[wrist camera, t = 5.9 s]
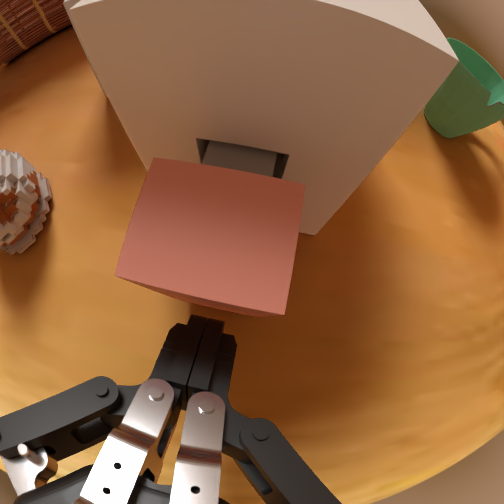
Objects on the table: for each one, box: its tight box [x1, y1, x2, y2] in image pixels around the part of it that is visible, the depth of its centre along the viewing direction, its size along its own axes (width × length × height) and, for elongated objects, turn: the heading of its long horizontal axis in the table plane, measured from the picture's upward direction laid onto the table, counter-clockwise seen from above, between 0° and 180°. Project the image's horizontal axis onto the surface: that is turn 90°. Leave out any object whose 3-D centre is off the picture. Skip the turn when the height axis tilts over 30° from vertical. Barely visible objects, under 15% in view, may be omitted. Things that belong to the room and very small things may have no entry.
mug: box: [424, 37, 504, 138], centre depth 19 cm, size 15×10×10 cm
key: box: [115, 140, 306, 317], centre depth 14 cm, size 5×14×10 cm, turn 169°
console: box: [69, 0, 459, 236], centre depth 14 cm, size 11×15×16 cm
